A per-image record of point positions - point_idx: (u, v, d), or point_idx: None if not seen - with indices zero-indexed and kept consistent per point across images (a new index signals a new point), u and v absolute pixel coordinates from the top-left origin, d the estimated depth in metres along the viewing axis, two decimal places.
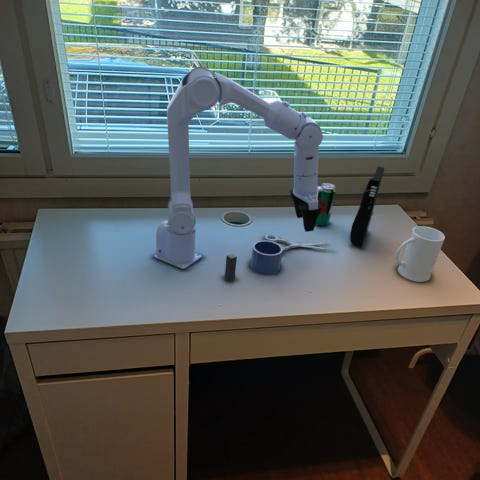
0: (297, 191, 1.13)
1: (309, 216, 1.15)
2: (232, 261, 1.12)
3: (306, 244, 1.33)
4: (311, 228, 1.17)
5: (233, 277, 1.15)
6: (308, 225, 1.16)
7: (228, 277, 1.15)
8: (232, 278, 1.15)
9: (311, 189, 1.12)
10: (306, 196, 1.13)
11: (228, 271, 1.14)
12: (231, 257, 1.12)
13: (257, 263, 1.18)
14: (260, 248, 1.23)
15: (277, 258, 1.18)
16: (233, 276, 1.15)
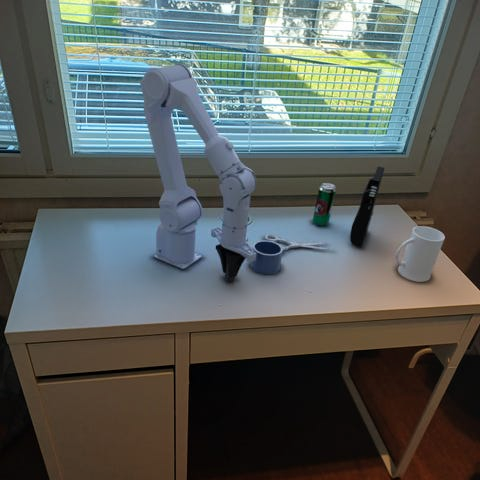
0: (229, 243, 1.07)
1: (235, 262, 1.12)
2: None
3: (306, 244, 1.33)
4: (236, 274, 1.14)
5: (233, 277, 1.15)
6: (233, 271, 1.13)
7: (228, 277, 1.15)
8: (232, 278, 1.15)
9: (243, 240, 1.08)
10: (239, 248, 1.08)
11: None
12: None
13: (257, 263, 1.18)
14: (260, 248, 1.23)
15: (277, 258, 1.18)
16: None
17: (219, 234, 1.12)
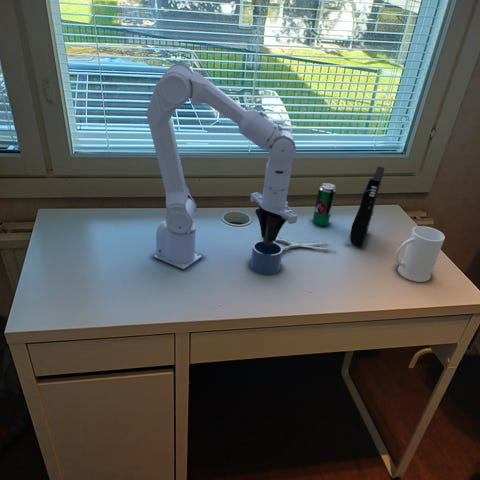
0: (270, 206, 1.09)
1: (274, 226, 1.14)
2: None
3: (306, 244, 1.33)
4: (274, 238, 1.16)
5: None
6: (272, 235, 1.15)
7: (266, 241, 1.17)
8: (270, 242, 1.17)
9: (284, 203, 1.10)
10: (280, 210, 1.10)
11: (267, 235, 1.16)
12: None
13: (257, 263, 1.18)
14: (260, 248, 1.23)
15: (277, 258, 1.18)
16: None
17: (259, 198, 1.14)
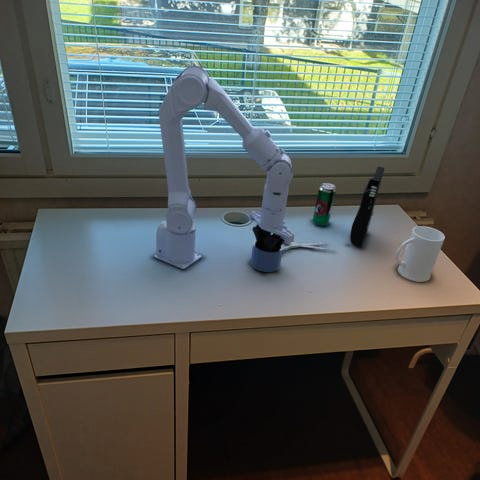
0: (268, 225, 1.13)
1: (274, 245, 1.17)
2: None
3: (306, 244, 1.33)
4: None
5: None
6: None
7: None
8: None
9: (281, 223, 1.13)
10: (277, 230, 1.13)
11: None
12: None
13: (257, 261, 1.18)
14: None
15: (277, 256, 1.17)
16: None
17: (257, 217, 1.17)
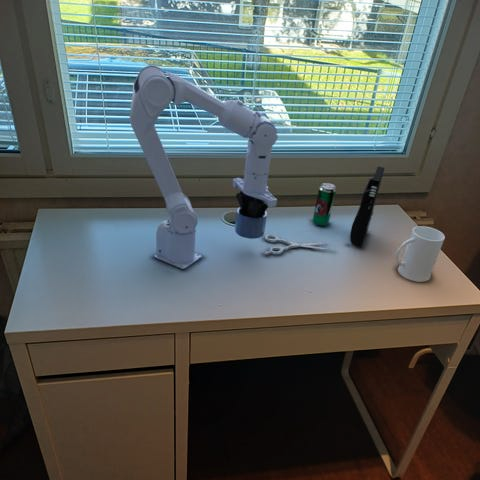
0: (250, 190, 1.12)
1: (257, 211, 1.17)
2: None
3: (306, 244, 1.33)
4: None
5: None
6: None
7: None
8: None
9: (264, 188, 1.13)
10: (260, 195, 1.13)
11: None
12: None
13: (241, 227, 1.18)
14: None
15: (261, 222, 1.17)
16: None
17: (241, 183, 1.17)
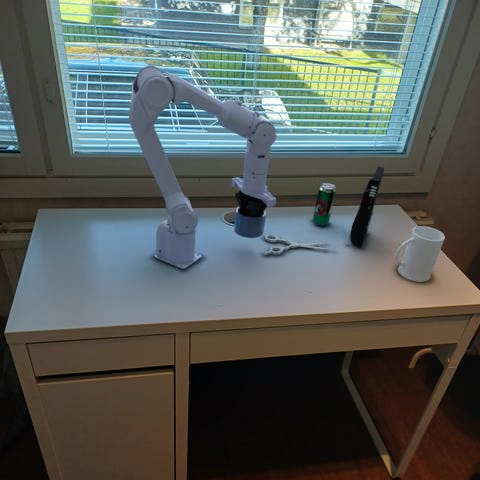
0: (249, 190, 1.13)
1: (256, 211, 1.17)
2: None
3: (306, 244, 1.33)
4: None
5: None
6: None
7: None
8: None
9: (263, 187, 1.13)
10: (259, 194, 1.13)
11: None
12: None
13: (240, 226, 1.18)
14: None
15: (260, 221, 1.17)
16: None
17: (240, 183, 1.17)
